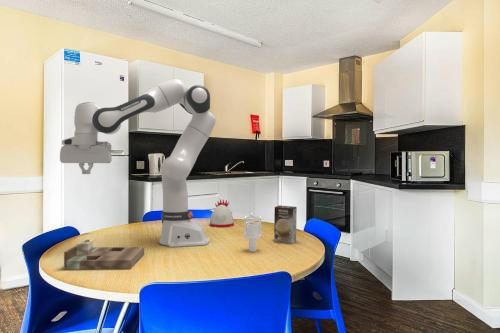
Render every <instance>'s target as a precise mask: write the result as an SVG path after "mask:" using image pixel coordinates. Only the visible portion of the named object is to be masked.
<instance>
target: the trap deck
mask: <svg viewBox="0 0 500 333" xmlns="http://www.w3.org/2000/svg"><path fill="white" fill-rule="evenodd" d="M83 242H90V239H86V240H84V241H83ZM144 255H145V246H114V247H113V246H110V247H109V246H108V247H107V246H106V247H105V246H103V247H101V246H99V247H93V246H92V253H91V254H89V255H77V253H76V245H75V246H73V247H71V248H69V249H67V250H65V251H64V252H63V270H64V271H79V270H80V271H81V270H82V271H84V270H85V271H87V270H88V271H89V270H91V271H92V270H94V271H95V270H97V271H98V270H132V268H133V267H134V266H135V265H136V264H137V263H138V262H139V261H140V260H141V259H142V258H143V256H144Z"/></svg>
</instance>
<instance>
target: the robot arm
mask: <svg viewBox="0 0 500 333" xmlns="http://www.w3.org/2000/svg"><path fill="white" fill-rule="evenodd" d="M178 104H179V105H180V107H181V108H182V109H183V110H185V112H187V113H189V114H190V115H192V117H191V119H190V121H189V122H188V125H186V128H185V129H184V130H183V132H182V134H181V136H180V137H179V139H178V140H177V143H176V144H175V147H174V148H173V150H172V151H171V154H170V156H168V157H166V158H164V160H163V162H162V163H161V187H162V211H161V224H162V225H161V233H160V234H161V235H160V238H159V242H158V243H159V244H160V245H163V246H167V247H170V248H175V247H176V248H177V247H193V246H195V247H196V246H197V247H198V246H206V245H208V244H209V243H210V237H209V236H207V235H206V234H205V229H204V226H203V225H201V224H200V223H198V222H197V221H196V220H195V219H193V216H194V214H193V212H192V211H190V210H189V206H188V205H189V192H188V186H187V178H188V176H189V175H190V173H191V171H192V169H193V168H194V165H195V164H196V161H197V158H198V156H199V155H200V154H201V153H200V152H201V151H202V149H203V147H204V146H205V144H206V142H207V141H208V139H209V138H210V136H211V135H212V134H211V133H212V132H213V130H214V128H215V126H216V122H217V121H216V117H215V115H214V113H212V112H210V109H211V94H210V91H209V89H208V88H206V87H205V86H203V85H201V84H195V85H192V86H191V87H189V88H188V87H187V86H186V85H185V83H184V82H183V81H182V80H181V79H178V78H174V79H169V80H166V81H163V82H161V83H158V84H155V85H154V86H152V87H151V88H149V89H147V90H146V91H144V92H143V93H141V94H140V95H139V96H137V97H135V98H133V99H131V100H129V101H126V102H123V103H122V104H120V105H117V106H114V107H113V106H112V107H100V106H99V105H97V104H96V103H95V102H87V101H86V102H82V103H79V104H77V105H76V107H75V111H74V116H73V117H74V120H73V122H74V128H75V130H74V136H72V137H68V138H65V139H62V140H61V144H62V146H61V148H60V150H59V162H60V163H61V164H78V166H79V168H80V170H81V175H90V174H91V173H92V172H91V170H92V169H93V167H94V164H111V162H112V160H113V159H112V144H111V143H110V142H108V141H99V139H98V134H99V133H102V134H105V135H114V134H116V133H118V132H119V131H120V129H121V127H122V124H123V122H125V121H127V120H129V119H131V118H134V117H135V116H137V115H140V114H142V113H143V114H144V113H153V114H156V113H158V112H162V111H164V110H167V109H169V108H172V107H173V106H175V105H178ZM85 164H87V166H88V168H87V169H86V168H85Z"/></svg>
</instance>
